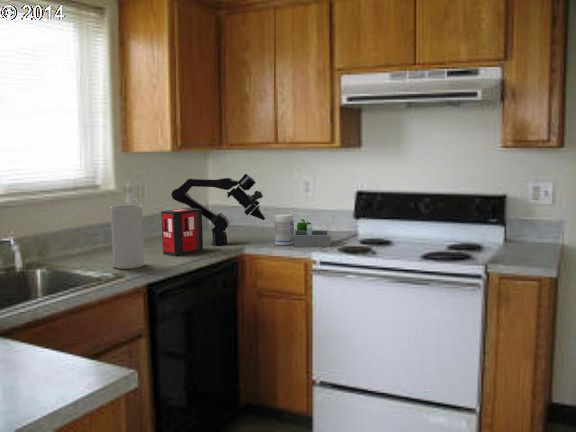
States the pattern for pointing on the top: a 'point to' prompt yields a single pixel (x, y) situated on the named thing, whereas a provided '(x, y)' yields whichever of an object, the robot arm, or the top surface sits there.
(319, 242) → the grey tray
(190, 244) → the cleaning product box
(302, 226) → the bell pepper
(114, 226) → the cylinder vase
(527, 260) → the top surface
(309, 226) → the plate
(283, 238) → the supplement tub
